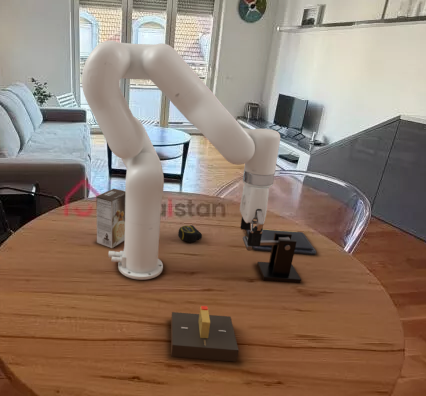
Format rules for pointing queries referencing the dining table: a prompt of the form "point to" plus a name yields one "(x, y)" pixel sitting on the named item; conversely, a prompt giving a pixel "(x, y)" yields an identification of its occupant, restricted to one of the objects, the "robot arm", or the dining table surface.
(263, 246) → the dark grey flat tray
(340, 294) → the dining table surface
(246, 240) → the door handle
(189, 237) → the tape measure
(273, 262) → the handle bracket
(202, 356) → the plate
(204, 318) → the thumbturn
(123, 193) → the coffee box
